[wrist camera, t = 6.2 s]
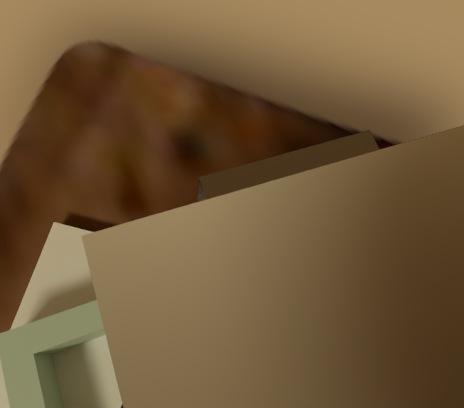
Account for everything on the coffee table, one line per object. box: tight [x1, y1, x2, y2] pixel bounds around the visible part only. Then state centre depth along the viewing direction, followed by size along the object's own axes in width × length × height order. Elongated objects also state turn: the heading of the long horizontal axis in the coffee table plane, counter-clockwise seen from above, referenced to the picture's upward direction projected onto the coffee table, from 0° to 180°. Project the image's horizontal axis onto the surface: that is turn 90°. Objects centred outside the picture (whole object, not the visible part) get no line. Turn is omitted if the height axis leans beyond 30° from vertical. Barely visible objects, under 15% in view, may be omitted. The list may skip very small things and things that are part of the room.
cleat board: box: [0, 222, 122, 408], centre depth 18 cm, size 14×14×4 cm
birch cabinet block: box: [81, 126, 464, 408], centre depth 9 cm, size 6×5×13 cm
